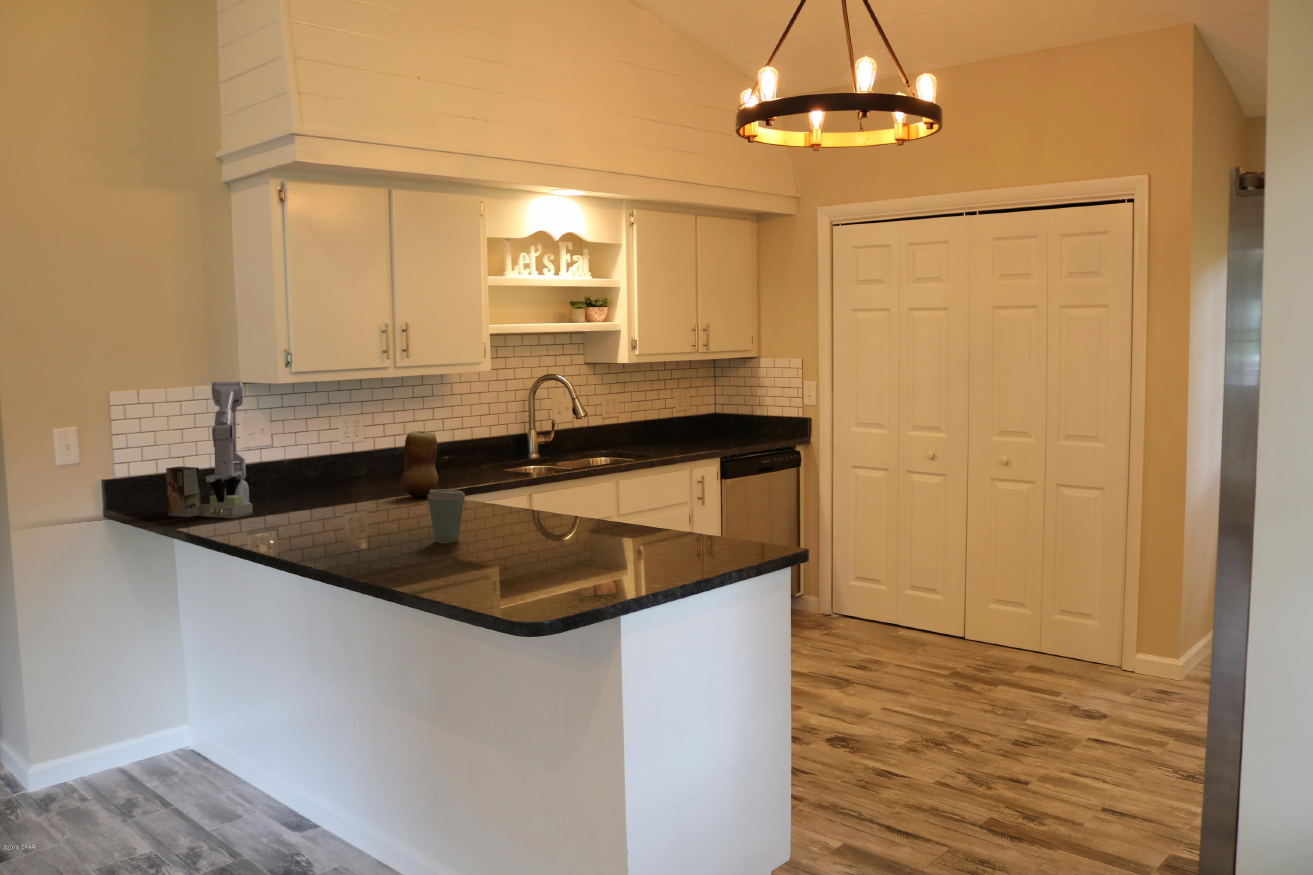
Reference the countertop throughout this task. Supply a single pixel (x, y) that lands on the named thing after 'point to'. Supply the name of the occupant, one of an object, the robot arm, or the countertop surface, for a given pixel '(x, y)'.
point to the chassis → (225, 511)
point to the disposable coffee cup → (446, 514)
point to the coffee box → (183, 491)
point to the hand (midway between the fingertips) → (225, 501)
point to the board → (226, 502)
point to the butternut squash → (420, 464)
